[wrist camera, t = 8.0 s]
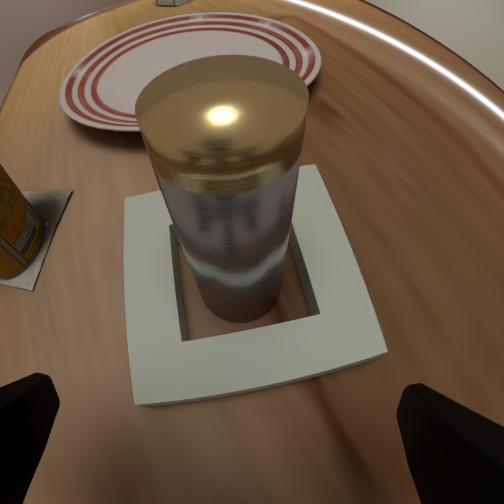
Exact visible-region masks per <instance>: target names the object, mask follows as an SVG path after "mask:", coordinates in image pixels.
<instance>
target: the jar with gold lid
mask: <svg viewBox="0 0 504 504" xmlns="http://www.w3.org/2000/svg"><path fill="white" fill-rule="evenodd" d="M308 101H309V92H308V88H307V86H306V83H305V82H304V81H303V79H302V78H301V77H300V76H299V75H298V74H297V73H296V72H294V71H293V70H292V69H290V68H288V67H286V66H285V65H283V64H280V63H278V62H275V61H272V60H269V59H265V58H261V57H256V56H249V55H216V56H209V57H203V58H199V59H194V60H191V61H188V62H185V63H182V64H179V65H177V66H175V67H172V68H170V69H168V70H166V71H165V72H163V73H161V74H160V75H158V76H157V77H155V78H154V79H153V80H152V81H150V82H149V83H148V84H147V85H146V86H145V87H144V89H143V90H142V91H141V93H140V94H139V96H138V98H137V101H136V104H135V116H136V119H137V122H138V125H139V128H140V131H141V135H142V138H143V141H144V144H145V147H146V150H147V153H148V156H149V158H150V161H151V164H152V167H153V170H154V173H155V176H156V179H157V181H158V184H159V187H160V190H161V193H162V195H163V198H164V201H165V204H166V206H167V209H168V212H169V214H170V217H171V220H172V222H173V225H174V228H175V230H176V233H177V235H178V238H179V241H180V243H181V246H182V248H183V251H184V253H185V256H186V258H187V261H188V263H189V266H190V268H191V271H192V273H193V276H194V278H195V281H196V283H197V285H198V288H199V290H200V293H201V295H202V297H203V300H204V302H205V304H206V305H207V307H208V308H209V309H210V310H211V312H213V313H214V314H215V315H216V316H218V317H219V318H221V319H224V320H226V321H229V322H235V323H245V322H251V321H254V320H257V319H259V318H261V317H262V316H264V315H265V314H267V313H268V312H269V311H270V310H271V309H272V308H273V306H274V305H275V303H276V301H277V299H278V297H279V293H280V287H281V282H282V276H283V270H284V264H285V258H286V252H287V246H288V240H289V234H290V227H291V221H292V215H293V208H294V202H295V195H296V188H297V182H298V175H299V168H300V161H301V154H302V147H303V139H304V132H305V124H306V117H307V109H308Z"/></svg>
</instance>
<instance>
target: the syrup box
mask: <svg viewBox="0 0 504 504" xmlns="http://www.w3.org/2000/svg"><path fill="white" fill-rule="evenodd" d="M190 1H193V0H156V3H157V6H179V5H182V4H185V3H187V2H190Z"/></svg>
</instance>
